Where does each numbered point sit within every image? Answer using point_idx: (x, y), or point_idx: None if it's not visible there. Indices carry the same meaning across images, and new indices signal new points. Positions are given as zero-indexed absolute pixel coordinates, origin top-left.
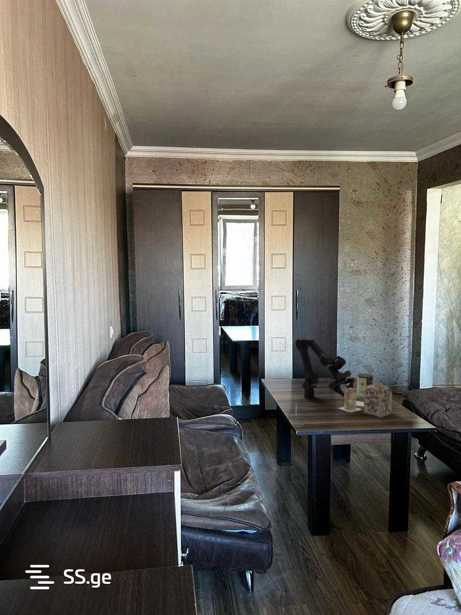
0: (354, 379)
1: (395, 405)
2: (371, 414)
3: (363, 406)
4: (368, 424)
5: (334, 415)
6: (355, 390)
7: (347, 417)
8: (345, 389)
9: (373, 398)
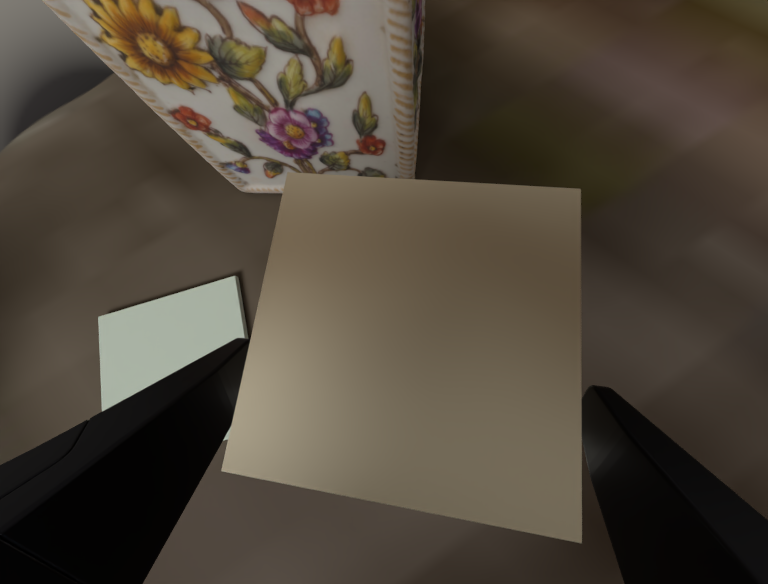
0: None
1: (42, 154)
2: (418, 120)
3: (240, 304)
4: (659, 6)
5: (752, 341)
6: (344, 189)
7: (671, 211)
8: (579, 471)
9: None
